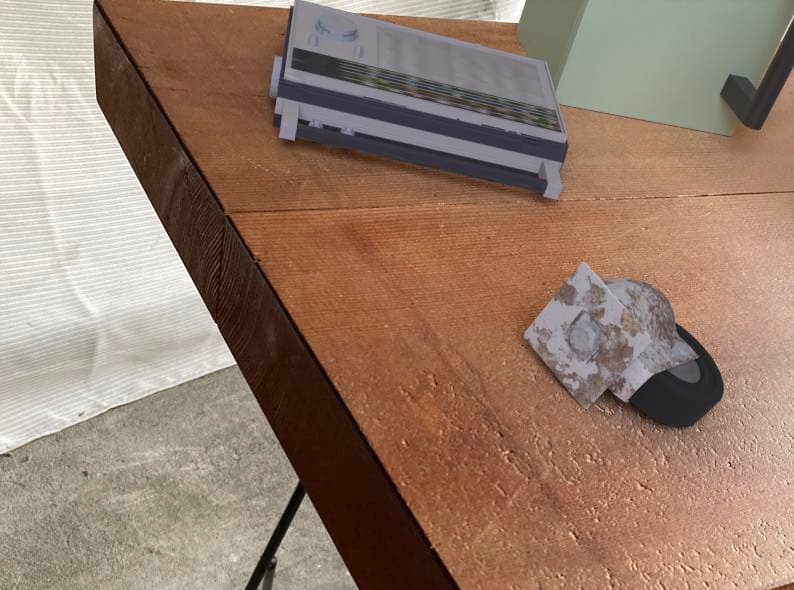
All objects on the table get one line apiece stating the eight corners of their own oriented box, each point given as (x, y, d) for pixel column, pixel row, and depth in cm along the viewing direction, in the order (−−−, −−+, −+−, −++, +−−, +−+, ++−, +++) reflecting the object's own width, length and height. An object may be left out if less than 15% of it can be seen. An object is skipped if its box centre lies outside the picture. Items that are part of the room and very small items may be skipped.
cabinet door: (757, 172, 96) (891, -74, 80) (569, 138, 90) (673, -132, 75) (728, 132, 101) (848, -106, 85) (549, 98, 96) (642, -162, 80)
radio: (550, 51, 90) (582, 155, 76) (531, 107, 94) (558, 216, 80) (286, -16, 85) (270, 82, 72) (276, 46, 89) (260, 150, 76)
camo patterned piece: (696, 433, 69) (625, 467, 62) (595, 316, 71) (517, 336, 65) (766, 369, 64) (698, 398, 57) (656, 246, 67) (578, 260, 60)
